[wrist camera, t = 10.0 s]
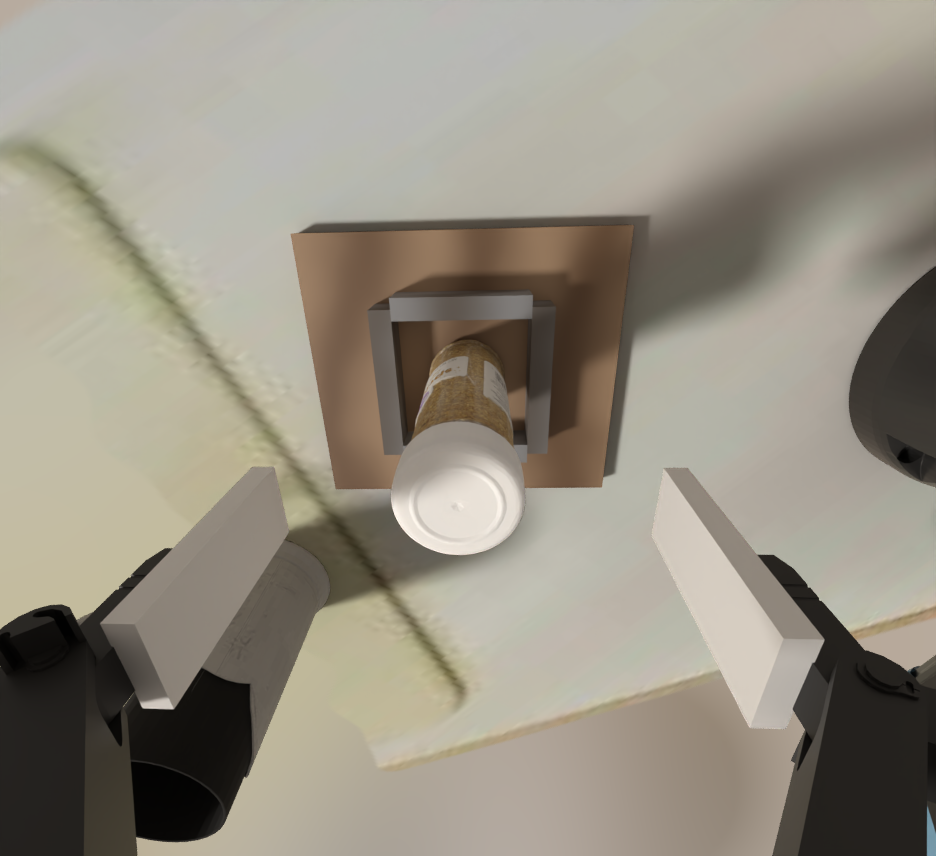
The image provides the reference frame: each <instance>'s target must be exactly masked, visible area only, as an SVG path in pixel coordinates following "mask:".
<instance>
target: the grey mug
mask: <svg viewBox="0 0 936 856" xmlns="http://www.w3.org/2000/svg"><path fill="white" fill-rule="evenodd" d="M329 593H330V581H329V577H328V575H327V572H326V570H325V569H324V567H323V565H322V564H321V563H320V562H319V560H318V559H317V558H316V557H315V556H313V555H312V554H311V553H310V552H309V551H307V550H306V549H304V548H302V547H301V546H299V545H297V544H294V543H292V542H289V541H286V540H284V541H283V542H282V544H281V546H280V547H279V549H278V550H277V552H276V553H275V555H274V556H273V558H272V559H271V561H270V562H269V564H268V566H267V567H266V569H265V570H264V572H263V573H262V575H261V576H260V578H259V579H258V581H257V582H256V584H255V586H254V587H253V589H252V590H251V592H250V593H249V595H248V596H247V598H246V599H245V601H244V602H243V604H242V606H241V607H240V609H239V610H238V612H237V613H236V615H235V616H234V618H233V619H232V621H231V622H230V624H229V626H228V627H227V629H226V630H225V632H224V633H223V635H222V636H221V638H220V639H219V641H218V642H217V644H216V646H215V647H214V649H213V650H212V652H211V653H210V655H209V656H208V658H207V659H206V661H205V662H204V664H203V666H202V667H201V669H200V670H199V672H198V673H197V675H196V676H195V678H194V679H193V681H192V682H191V684H190V686H189V687H188V689H187V690H186V692H185V693H184V695H183V696H182V698H181V699H180V701H179V702H178V704H177V706H176V707H175V709H147V708H142V706H141V704H140V702H139V700H138V698H137V696H136V694H135V692H134V693H133V695H132V696H131V697H130V699H129V700H128V702H127V703H126V704H125V706H124V707H123V708H124V710H125V713H126V715H127V719H128V733H129V747H130V761H131V774H132V788H133V802H134V816H135V829H136V837H139V838H143V839H148V840H154V841H162V842H188V841H194V840H199V839H203V838H206V837H208V836H210V835H212V834H214V833H216V832H217V831H218V830H220V829H221V827H222V826H223V825H224V823H225V821H226V819H227V816H228V814H229V811H230V809H231V806H232V804H233V802H234V800H235V797H236V795H237V792H238V790H239V788H240V785H241V783H242V780H243V778H244V777H247V776H248V775H249V772H250V770H251V767H252V765H253V763H254V760H255V758H256V755H257V753H258V750H259V748H260V745H261V743H262V741H263V738H264V736H265V734H266V731H267V729H268V726H269V724H270V722H271V719H272V716H273V714H274V712H275V709H276V707H277V705H278V702H279V700H280V697H281V695H282V693H283V690H284V688H285V685H286V683H287V681H288V678H289V676H290V674H291V671H292V669H293V666H294V664H295V661H296V659H297V657H298V654H299V652H300V649H301V647H302V645H303V642H304V640H305V637H306V635H307V633H308V630H309V628H310V625H311V623H312V621H313V618H314V616H315V614H316V613H317V612H318V611H319V610H320V609H321V608H322V607H323V606H324V604H325V603H326V601H327V599H328V596H329ZM92 613H93V612H92ZM92 613H90V614H88V615H85V616H84V617H81V618H80V619H78V620H77V622H78V624H79V626H80V625H81V624H82V623H83V622H84V621H85V620H86V619H87V618H88V617H89V616H90V615H91V614H92Z"/></svg>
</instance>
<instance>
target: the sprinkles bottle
mask: <svg viewBox="0 0 936 856" xmlns="http://www.w3.org/2000/svg"><path fill="white" fill-rule="evenodd" d="M504 380H505V371H504V366H503V363H502V362H501V360H500V358H499V356H498V355H497V353H495V352H494V350H492V349H491V348H490V347H489V346H487V345H485V344H483V343H481V342H479V341H476V340H460V341H456V342H453V343H450V344H449V345H447V346H445V347H444V348H443V349H442V350H441V351H439V353H438V354H437V355H436V357H435V358H434V360H433V361H432V364H431V368H430V373H429V379H428V382H427V384H426V388H425V391H424V395H423V399H422V402H421V405H420V409H419V412H418V415H417V419H416V423H415V430H414V433H413V436H412V440H411V442H410V443H409V444H408V445H407V446H406V448H405V449H404V451H403V453H402V455H401V458H400V460H399V463H398V466H397V469H396V472H395V476H394V479H393V483H392V489H391V503H392V508H393V511H394V515H395V517H396V519H397V521H398V523H399V524H400V526H401V527H402V529H403V530H404V531H405V532H406V533H407V534H408V535H409V536H410V537H411V538H412V539H413V540H415V541H416V542H418V543H419V544H421V545H422V546H424V547H426V548H429V549H431V550H433V551H436V552H439V553H444V554H450V555H468V554H475V553H479V552H483V551H486V550H488V549H491V548H493V547H495V546H496V545H498V544H500V543H501V542H502V541H504V540H505V539H507V538H508V537H509V536H510V535H511V534H512V532H513V531H514V530H515V528H516V527H517V525H518V524H519V522H520V520H521V518H522V515H523V512H524V508H525V486H524V478H523V471H522V466H521V462H520V460H519V457H518V455H517V453H516V451H515V449H514V446H513V427H512V421H511V415H510V409H509V401H508V395H507V389H506V384H505V381H504Z"/></svg>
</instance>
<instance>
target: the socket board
mask: <svg viewBox="0 0 936 856" xmlns="http://www.w3.org/2000/svg"><path fill="white" fill-rule="evenodd" d="M633 230H634V225H603V226H563V227H523V228H483V229H444V230H404V231H364V232H324V233H294V234H291V238H292V244H293V250H294V255H295V261H296V267H297V272H298V278H299V284H300V289H301V295H302V300H303V306H304V312H305V317H306V323H307V329H308V334H309V340H310V346H311V351H312V357H313V363H314V368H315V374H316V380H317V385H318V391H319V397H320V402H321V408H322V413H323V419H324V425H325V430H326V436H327V442H328V447H329V453H330V459H331V464H332V470H333V476H334V481H335V487H336V489H392V483H393V479H394V476H395V472H396V469H397V466H398V463H399V460H400V458H401V455H402V453H403V451H404V449H405V448H406V446H407V445H408V444H409V443H410V442H411V440H412V436H413V433H414V430H415V423H416V419H417V415H418V412H419V409H420V405H421V402H422V399H423V395H424V391H425V388H426V384H427V382H428V379H429V373H430V368H431V364H432V361H433V360H434V358H435V357H436V355H437V354H438V353H439V351H441V350H442V349H443V348H444V347H445V346H447V345H449V344H450V343H453V342H456V341H460V340H476V341H479V342H481V343H483V344H485V345H487V346H489V347H490V348H491V349H492V350H494V352H495V353H497V355H498V356H499V358H500V360H501V362H502V363H503V366H504V371H505V380H504V381H505V384H506V389H507V395H508V401H509V409H510V415H511V421H512V427H513V446H514V449H515V451H516V453H517V455H518V457H519V460H520V462H521V466H522V471H523V478H524V486H525V488H577V487H602V482H603V474H604V466H605V458H606V449H607V441H608V433H609V425H610V417H611V409H612V401H613V393H614V384H615V376H616V368H617V360H618V352H619V344H620V336H621V328H622V319H623V311H624V303H625V295H626V287H627V279H628V271H629V263H630V254H631V246H632V238H633Z"/></svg>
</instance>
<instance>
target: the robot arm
mask: <svg viewBox="0 0 936 856" xmlns="http://www.w3.org/2000/svg"><path fill="white" fill-rule="evenodd" d="M849 411H850V418H851V422H852V425H853V428H854V431H855V433H856V435H857V437H858V438H859V440H860V442H861V443H862V444H863V446H864V447H865V448H866V449H867V450H868V451H869V452H870V453H871V454H872V455H874V456H875V457H876V458H878V459H879V460H881V461H883V462H884V463H886V464H888V465H889V466H891V467H892V468H894V469H896V470H897V471H899V472H901V473H902V474H904V475H906V476H908V477H910V478H912V479H914V480H916V481H919V482H921V483H924V484H927V485H930V486H933V487H936V268H934V269H933V270H932V271H930V272H929V273H928V274H926V275H925V276H924V277H923V278H921V279H920V280H919V281H918V282H916V283H915V284H914V285H913V286H912V287H911V288H910V289H909V290H908V291H906V292H905V293H904V294H903V295H902V296H901V298H900V299H899V300H898V301H897V302H896V303H895V304H894V305H893V306H892V307H891V308H890V309H889V311H888V312H887V313H886V314H885V316H884V317H883V318H882V319H881V321H880V322H879V324H878V325H877V326H876V328H875V329H874V331H873V332H872V334H871V335H870V337H869V339H868V341H867V342H866V344H865V346H864V348H863V350H862V352H861V354H860V356H859V359H858V361H857V364H856V366H855V370H854V373H853V376H852V380H851V385H850V392H849ZM288 533H289V528H288V524H287V519H286V515H285V511H284V507H283V502H282V498H281V494H280V490H279V485H278V481H277V477H276V473H275V468H274V467H252V468H251V469H250V470H249V471H248V472H247V473H246V474H245V475H244V476H243V477H242V478H241V479H240V480H239V481H238V482H237V483H236V484H235V485H234V486H233V487H232V488H231V489H230V490H229V491H228V492H227V493H226V494H225V496H224V497H223V498H222V499H221V500H220V501H219V502H218V503H217V504H216V505H215V506H214V507H213V508H212V509H211V510H210V511H209V512H208V513H207V514H206V515H205V516H204V517H203V518H202V519H201V520H200V521H199V522H198V523H197V524H196V525H195V526H194V527H193V528H192V529H191V530H190V531H189V532H188V534H187V535H186V536H185V537H184V538H183V539H182V540H181V541H180V542H179V543H178V544H177V545H176V546H175V547H174V548H171V549H170V548H165V549H163V550H162V551H160V552H159V553H157V554H156V555H154V556H152V557H151V558H149V559H148V560H146V561H145V562H144V563H143V564H142V565H141V566H140V567H139V568H138V569H137V570H136V571H135V572H134V573H133V574H132V575H131V578H128V579H126V581H125V582H124V583H122V584H121V586H119V590H115V591H114V592H113V593H112V594H111V595H110V596H109V597H108V598H107V599H106V600H105V601H104V602H103V603H102V604H101V605H100V606H99V607H98V608H97V609H96V610H95V611H94V612H93V613H92V614H91V615H90V616H89V617H88V618H87V619H86V620H85V621H84V622H83V623H82V624H81V625H80V626H79V624H78V622H77V620H76V618H75V617H74V615H73V613H72V611H71V609H70V607H67V606H64V605H49V606H46V607H42V608H38V609H35V610H32V611H30V612H28V613H26V614H24V615H21V616H19V617H17V618H16V619H15V620H13V621H11V622H10V623H8V624H7V625H5V626H4V627H2V629H0V856H137V844H136V829H135V816H134V802H133V788H132V774H131V761H130V747H129V733H128V719H127V715H126V713H125V710H124V708H123V706H124V705H125V703H126V702H127V701H128V699H129V698H130V697H131V695H132V694H133V693H134V692H135V694H136V696H137V698H138V700H139V702H140V704H141V706H142V708H147V709H175V707H176V706H177V704H178V702H179V701H180V699H181V698H182V696H183V695H184V693H185V692H186V690H187V689H188V687H189V686H190V684H191V682H192V681H193V679H194V678H195V676H196V675H197V673H198V672H199V670H200V669H201V667H202V666H203V664H204V662H205V661H206V659H207V658H208V656H209V655H210V653H211V652H212V650H213V649H214V647H215V646H216V644H217V642H218V641H219V639H220V638H221V636H222V635H223V633H224V632H225V630H226V629H227V627H228V626H229V624H230V622H231V621H232V619H233V618H234V616H235V615H236V613H237V612H238V610H239V609H240V607H241V606H242V604H243V602H244V601H245V599H246V598H247V596H248V595H249V593H250V592H251V590H252V589H253V587H254V586H255V584H256V582H257V581H258V579H259V578H260V576H261V575H262V573H263V572H264V570H265V569H266V567H267V566H268V564H269V562H270V561H271V559H272V558H273V556H274V555H275V553H276V552H277V550H278V549H279V547H280V546H281V544H282V542H283V541H284V539H285V538H286V536H287V535H288ZM651 536H652V538H653V540H654V542H655V544H656V546H657V548H658V550H659V552H660V553H661V555H662V557H663V559H664V561H665V563H666V565H667V567H668V569H669V571H670V573H671V575H672V577H673V579H674V581H675V583H676V585H677V587H678V589H679V591H680V593H681V595H682V597H683V598H684V600H685V602H686V604H687V606H688V608H689V610H690V612H691V614H692V616H693V618H694V620H695V622H696V624H697V626H698V628H699V630H700V632H701V634H702V636H703V638H704V640H705V642H706V644H707V645H708V647H709V649H710V651H711V653H712V655H713V657H714V659H715V661H716V663H717V665H718V667H719V669H720V671H721V673H722V675H723V677H724V679H725V680H726V683H727V685H728V686H729V689H730V690H731V692H732V694H733V696H734V698H735V700H736V702H737V704H738V706H739V708H740V710H741V712H742V714H743V716H744V718H745V720H746V722H747V724H748V726H749V727H750V728H768V729H769V728H770V729H786V727H787V725H788V722H789V720H790V718H791V716H792V714H793V711H794V712H795V714H796V716H797V717H798V719H799V720H800V722H801V724H802V725H803V727H804V728H805V731H804V733H803V736H802V738H801V740H800V742H799V744H798V746H797V748H796V751H795V753H794V755H793V757H792V760H791V761H793V762H794V763H795V765H794V770H793V773H792V778H791V782H790V786H789V790H788V794H787V798H786V803H785V806H784V810H783V814H782V818H781V822H780V827H779V831H778V835H777V839H776V843H775V847H774V851H773V855H772V856H936V655H935V656H934V657H932V658H931V659H930V660H929V661H927V662H926V663H924V664H923V665H921V666H917V667H914V668H912V669H909V670H908V671H906V670H905V669H904V668H902V667H901V666H900V665H898V664H896V663H894V662H893V661H891V660H889V659H887V658H885V657H884V656H881V655H878V654H875V653H872V652H869V651H865V650H864V649H863V648H862V647H861V646H860V644H858V642H857V641H856V640H855V639H854V637H853V636H852V635H851V634H850V633H849V632H848V631H847V629H846V628H845V627H844V626H843V625H842V624H841V623H840V621H839V620H838V619H837V618H836V617H835V616H834V615H833V613H832V612H831V611H830V610H829V609H828V608H827V606H826V605H825V604H824V603H823V602H822V601H819V597H818V596H817V595H816V594H815V593H814V592H813V590H812V589H811V588H808V587H807V584H806V582H805V581H804V580H803V579H802V578H801V577H800V576H799V574H798V573H797V572H796V571H795V570H794V569H793V568H792V567H790V566H789V565H787V564H786V563H785V562H783V561H782V560H780V559H779V558H777V557H776V556H774V555H757V554H756V553H755V552H754V550H753V549H752V548H751V547H750V545H749V544H748V543H747V542H746V540H745V539H744V538H743V537H742V535H741V534H740V533H739V532H738V530H737V529H736V528H735V527H734V525H733V524H732V523H731V522H730V520H729V519H728V518H727V517H726V515H725V514H724V513H723V512H722V510H721V509H720V508H719V507H718V505H717V504H716V503H715V502H714V500H713V499H712V498H711V497H710V495H709V494H708V493H707V492H706V490H705V489H704V488H703V487H702V485H701V484H700V483H699V482H698V480H697V479H696V478H695V477H694V475H693V474H692V473H691V472H690V470H689V469H688V468H664V470H663V475H662V481H661V486H660V492H659V497H658V503H657V508H656V513H655V519H654V524H653V530H652V535H651Z"/></svg>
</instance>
